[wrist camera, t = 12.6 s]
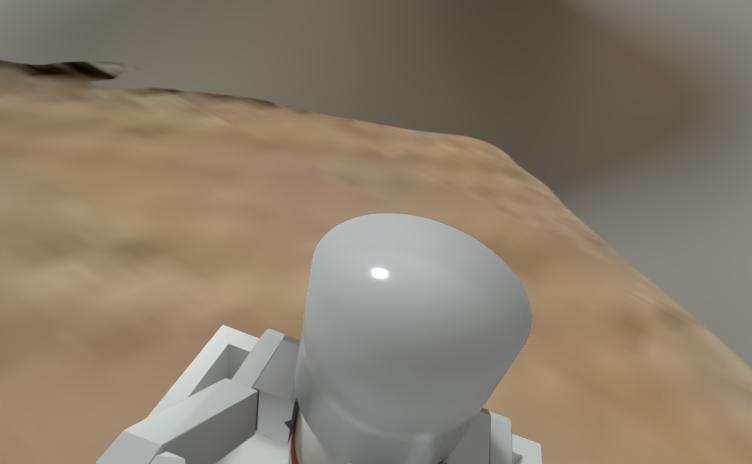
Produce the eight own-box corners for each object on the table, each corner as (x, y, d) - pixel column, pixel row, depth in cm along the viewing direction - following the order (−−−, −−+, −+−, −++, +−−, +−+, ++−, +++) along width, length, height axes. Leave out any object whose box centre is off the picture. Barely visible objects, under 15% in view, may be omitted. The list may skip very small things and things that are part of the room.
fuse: (248, 575, 12) (267, 315, 5) (300, 455, 15) (353, 194, 8) (363, 627, 12) (540, 416, 5) (392, 493, 15) (526, 250, 8)
